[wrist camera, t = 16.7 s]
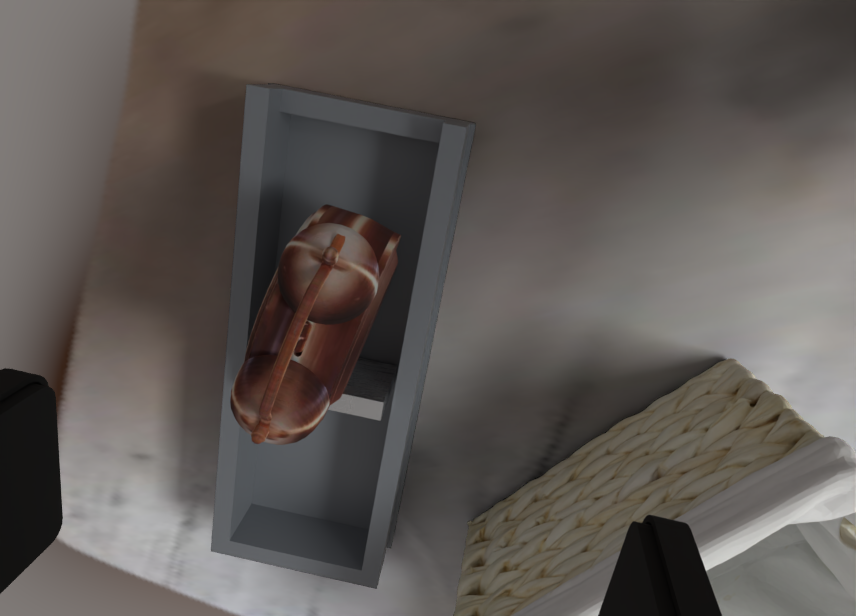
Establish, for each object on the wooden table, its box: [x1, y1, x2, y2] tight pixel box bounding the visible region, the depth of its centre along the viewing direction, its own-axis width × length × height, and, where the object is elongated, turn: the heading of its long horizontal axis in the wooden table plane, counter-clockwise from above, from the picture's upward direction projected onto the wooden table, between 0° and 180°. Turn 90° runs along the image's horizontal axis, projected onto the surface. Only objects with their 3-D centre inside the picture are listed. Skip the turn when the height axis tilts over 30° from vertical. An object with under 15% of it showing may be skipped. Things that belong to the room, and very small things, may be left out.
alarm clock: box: [230, 204, 401, 445], centre depth 32 cm, size 11×5×15 cm, turn 157°
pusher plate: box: [328, 358, 397, 421], centre depth 39 cm, size 8×1×5 cm, turn 79°
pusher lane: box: [211, 83, 476, 589], centre depth 39 cm, size 12×30×5 cm, turn 169°
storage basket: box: [453, 359, 856, 616], centre depth 37 cm, size 24×16×15 cm
